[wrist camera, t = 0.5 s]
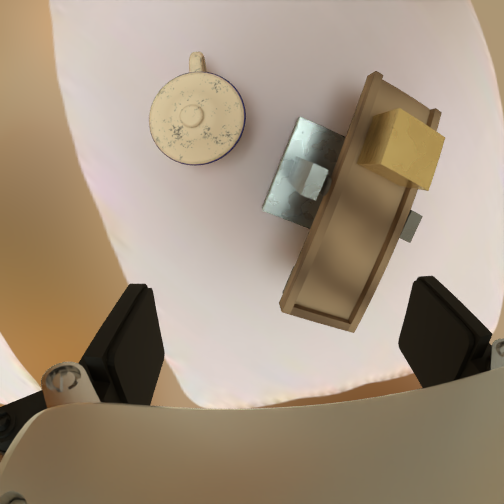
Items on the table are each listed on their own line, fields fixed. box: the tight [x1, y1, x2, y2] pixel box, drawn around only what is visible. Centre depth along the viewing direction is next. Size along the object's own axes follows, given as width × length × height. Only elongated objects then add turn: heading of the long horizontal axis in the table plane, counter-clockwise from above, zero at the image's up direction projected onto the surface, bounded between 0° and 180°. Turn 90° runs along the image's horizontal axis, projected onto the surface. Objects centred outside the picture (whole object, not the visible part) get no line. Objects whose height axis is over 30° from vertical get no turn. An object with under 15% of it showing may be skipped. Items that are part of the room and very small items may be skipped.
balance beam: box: [279, 71, 441, 333], centre depth 28 cm, size 24×8×4 cm, turn 159°
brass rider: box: [357, 108, 445, 191], centre depth 24 cm, size 5×5×5 cm
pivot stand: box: [262, 117, 422, 243], centre depth 33 cm, size 12×15×11 cm
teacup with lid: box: [149, 52, 246, 165], centre depth 29 cm, size 12×9×12 cm
